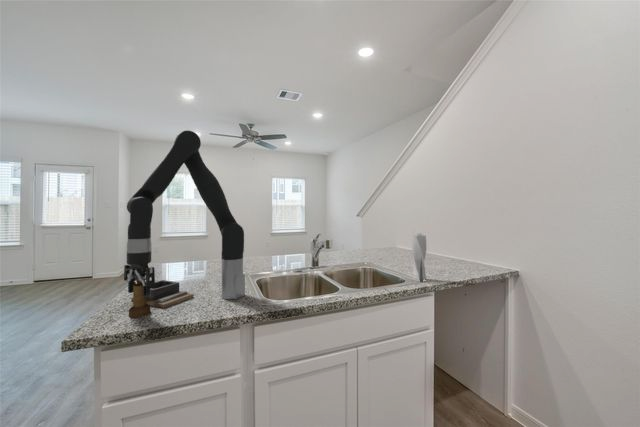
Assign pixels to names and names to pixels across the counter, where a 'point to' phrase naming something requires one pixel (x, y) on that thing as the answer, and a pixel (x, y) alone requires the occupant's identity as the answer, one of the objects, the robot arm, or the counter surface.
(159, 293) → the socket board
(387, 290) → the counter surface
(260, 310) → the counter surface
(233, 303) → the counter surface
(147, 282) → the robot arm
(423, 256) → the skyscraper
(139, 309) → the brown wooden chess pawn
